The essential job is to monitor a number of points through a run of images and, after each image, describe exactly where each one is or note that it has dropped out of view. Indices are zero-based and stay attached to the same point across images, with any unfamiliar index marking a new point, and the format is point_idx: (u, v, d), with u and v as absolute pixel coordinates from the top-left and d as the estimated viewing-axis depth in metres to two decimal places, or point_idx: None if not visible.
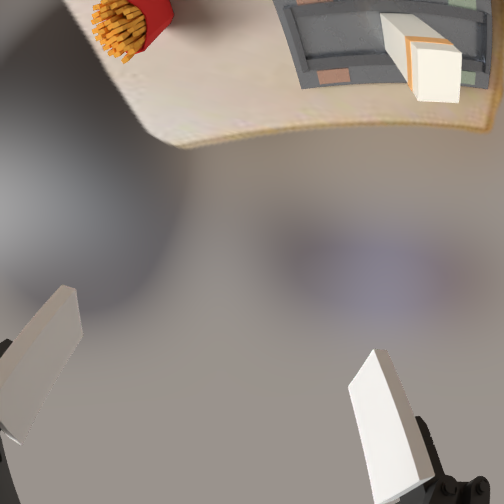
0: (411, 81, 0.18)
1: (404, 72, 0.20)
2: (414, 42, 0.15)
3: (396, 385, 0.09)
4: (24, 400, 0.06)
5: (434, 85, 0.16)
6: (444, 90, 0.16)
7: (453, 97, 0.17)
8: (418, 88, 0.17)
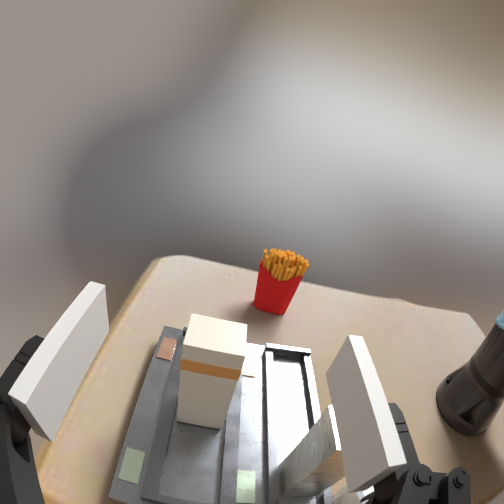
0: None
1: None
2: None
3: (369, 370, 0.10)
4: (56, 396, 0.07)
5: (207, 327, 0.24)
6: (201, 334, 0.23)
7: (191, 340, 0.22)
8: (205, 317, 0.25)
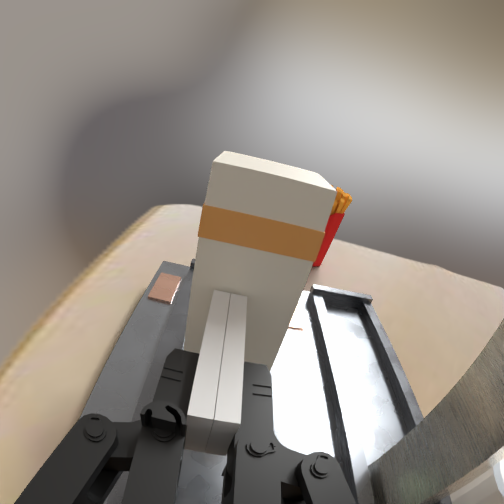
0: None
1: None
2: None
3: (237, 326, 0.11)
4: None
5: (255, 160, 0.13)
6: (245, 161, 0.12)
7: (228, 161, 0.11)
8: (247, 157, 0.14)
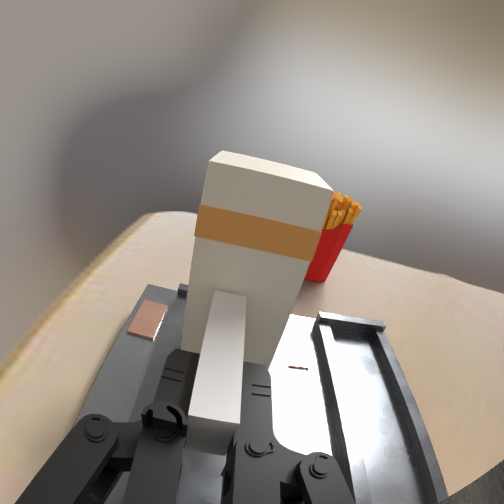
0: None
1: None
2: None
3: (237, 325, 0.11)
4: None
5: (252, 160, 0.13)
6: (242, 161, 0.12)
7: (225, 161, 0.11)
8: (244, 156, 0.14)
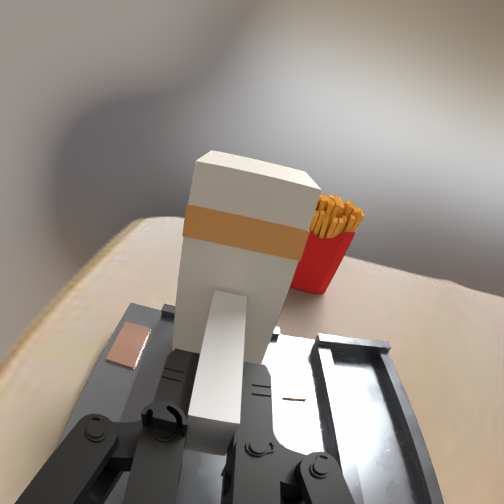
0: None
1: None
2: None
3: (237, 325, 0.11)
4: None
5: (241, 160, 0.13)
6: (230, 161, 0.12)
7: (212, 161, 0.11)
8: (234, 156, 0.14)
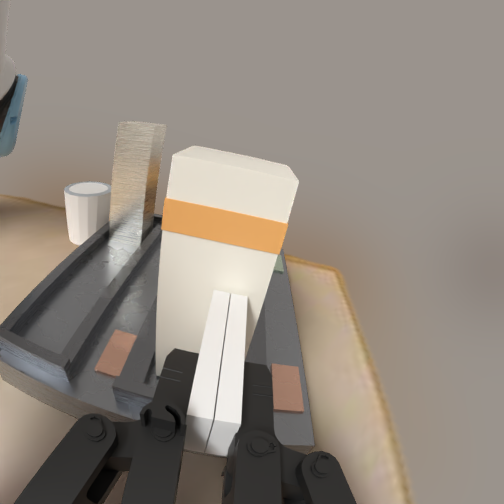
0: (263, 222, 0.12)
1: (255, 275, 0.13)
2: (169, 190, 0.11)
3: (238, 326, 0.11)
4: None
5: (257, 165, 0.12)
6: (266, 164, 0.13)
7: (278, 164, 0.14)
8: (267, 175, 0.11)
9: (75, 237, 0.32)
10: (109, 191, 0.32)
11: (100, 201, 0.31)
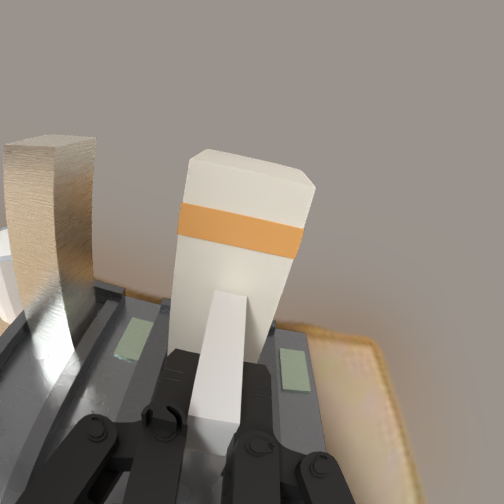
0: (280, 227, 0.12)
1: (270, 279, 0.13)
2: (185, 194, 0.11)
3: (237, 325, 0.11)
4: None
5: (273, 170, 0.12)
6: (281, 168, 0.13)
7: (292, 169, 0.14)
8: (285, 181, 0.11)
9: (1, 313, 0.17)
10: None
11: None
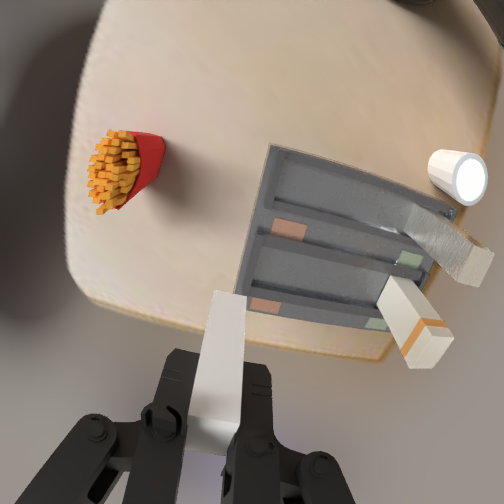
0: (407, 351, 0.28)
1: (399, 339, 0.31)
2: (428, 327, 0.26)
3: (237, 326, 0.11)
4: None
5: (425, 358, 0.26)
6: (429, 361, 0.27)
7: (431, 365, 0.27)
8: (414, 360, 0.27)
9: (432, 160, 0.32)
10: (463, 203, 0.28)
11: (452, 195, 0.29)
